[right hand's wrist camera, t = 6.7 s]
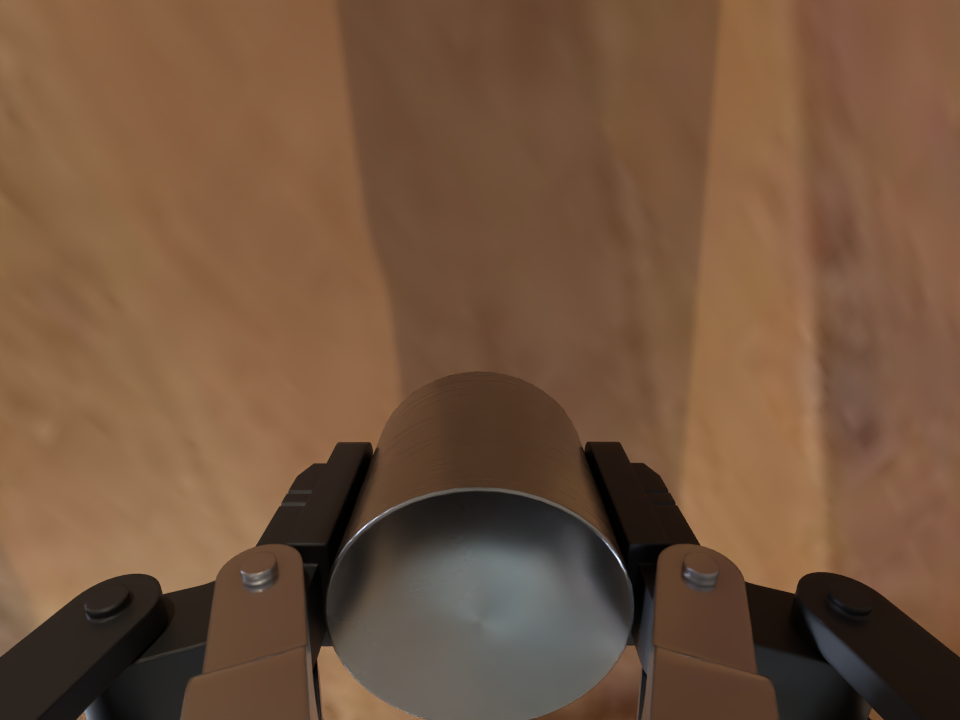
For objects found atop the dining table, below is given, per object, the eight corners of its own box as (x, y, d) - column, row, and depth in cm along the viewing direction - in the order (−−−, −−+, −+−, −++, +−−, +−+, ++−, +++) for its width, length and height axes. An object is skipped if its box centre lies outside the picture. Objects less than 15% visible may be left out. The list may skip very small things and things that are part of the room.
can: (532, 571, 14) (556, 756, 9) (351, 514, 13) (288, 684, 9) (617, 413, 12) (693, 549, 8) (415, 339, 11) (377, 442, 7)
